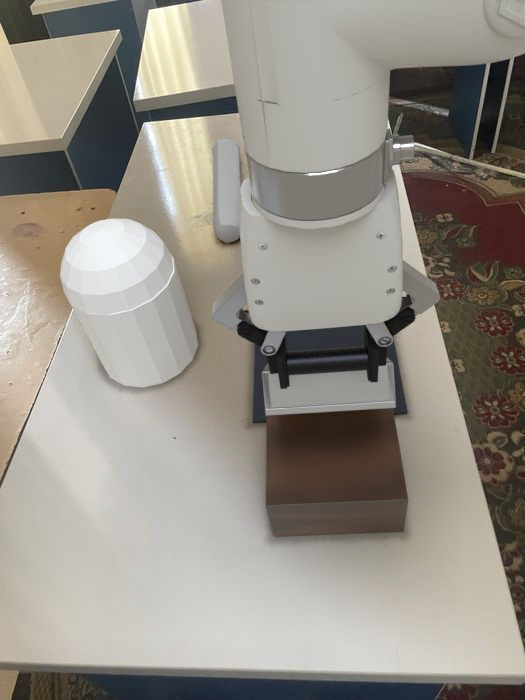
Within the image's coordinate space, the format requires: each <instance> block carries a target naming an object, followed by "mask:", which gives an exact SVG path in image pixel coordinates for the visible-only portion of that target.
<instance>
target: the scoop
mask: <svg viewBox="0 0 525 700" xmlns="http://www.w3.org/2000/svg"><path fill="white" fill-rule="evenodd" d="M286 362H287V373H288V375H289V382H290V387H287V389H281V388H280V382H279V376H278V374H270V370H269V365H268V364H267V366H266V367H265V369H264V370H263V372H262V378H263V390H264V402H265V414H266V416H268V415H285V414H301V413H318V412H335V411H351V410H368V409H385V408H396V401H395V400H396V398H395V381H394V364H393V362H391V361H390V360H389V359H388V358H387V360H386V366H379V368H378V382H372V383H371V381H368V378H367V371H366V370H368V369H369V358H368V349H367V346H360V347H346V348H332V349H318V350H304V351H290V352H286Z"/></svg>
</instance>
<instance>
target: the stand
mask: <svg viewBox="0 0 525 700" xmlns="http://www.w3.org/2000/svg"><path fill="white" fill-rule="evenodd" d="M265 437H266V440H265V441H266V442H265V445H266V446H265V448H266V449H265V451H266V452H265V455H266V456H265V508H266V512H267V516H268V519H269V523H270V527H271V531H272V534H273V537H274V538H275V537H277V538H278V537H303V536H327V535H328V536H329V535H330V536H331V535H352V534H355V535H356V534H379V533H380V534H382V533H404V531H405V523H406V517H407V510H408V505H409V496H408V489H407V485H406V483H407V482H406V478H405V471H404V466H403V460H402V454H401V449H400V441H399V436H398V429H397V425H396V418H395V415H394V412H393V408H385V409H368V410H351V411H335V412H318V413H301V414H285V415H268V416H267V422H266V436H265Z"/></svg>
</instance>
